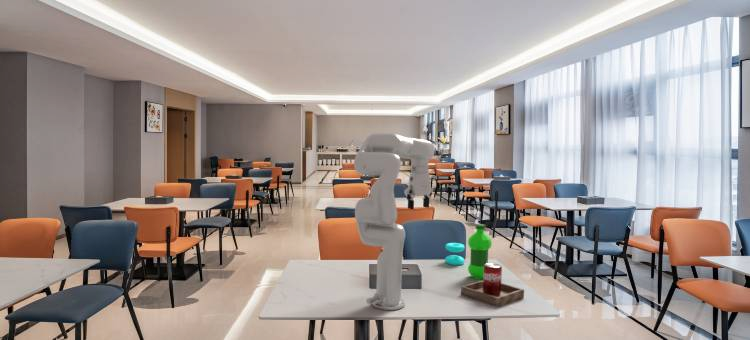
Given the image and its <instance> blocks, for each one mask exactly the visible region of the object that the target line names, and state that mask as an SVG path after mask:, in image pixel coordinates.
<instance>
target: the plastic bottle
mask: <svg viewBox="0 0 750 340" xmlns="http://www.w3.org/2000/svg"><path fill="white" fill-rule="evenodd" d="M475 229H476V231H475V232H474V233H473V234H471V236H470V237H468V240H467V244H468V246H469V248H470V263H469V265H468V267H467V271H468V273H469V274H470V276H471V277H472V278H473V279H475V280H483V270H484V265H485V264H486V263H489V262H488V261H489V249H491V247H492V239H491V238H490V236H488V235H487V234H486V233H485V232H484V230H486V225H485V224H482V223H476V224H475Z"/></svg>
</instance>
